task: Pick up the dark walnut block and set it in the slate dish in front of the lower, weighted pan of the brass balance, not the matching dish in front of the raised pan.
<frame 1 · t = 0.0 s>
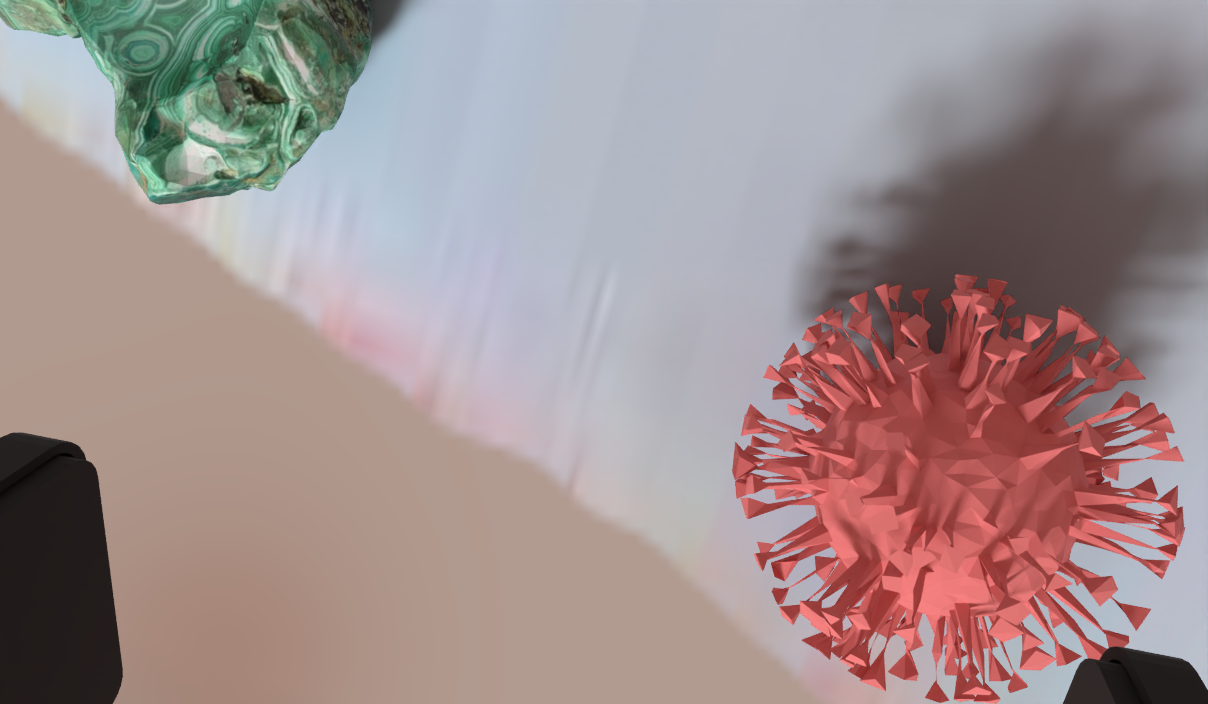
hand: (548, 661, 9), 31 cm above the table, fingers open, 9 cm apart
virus model: (915, 392, 40), on the table
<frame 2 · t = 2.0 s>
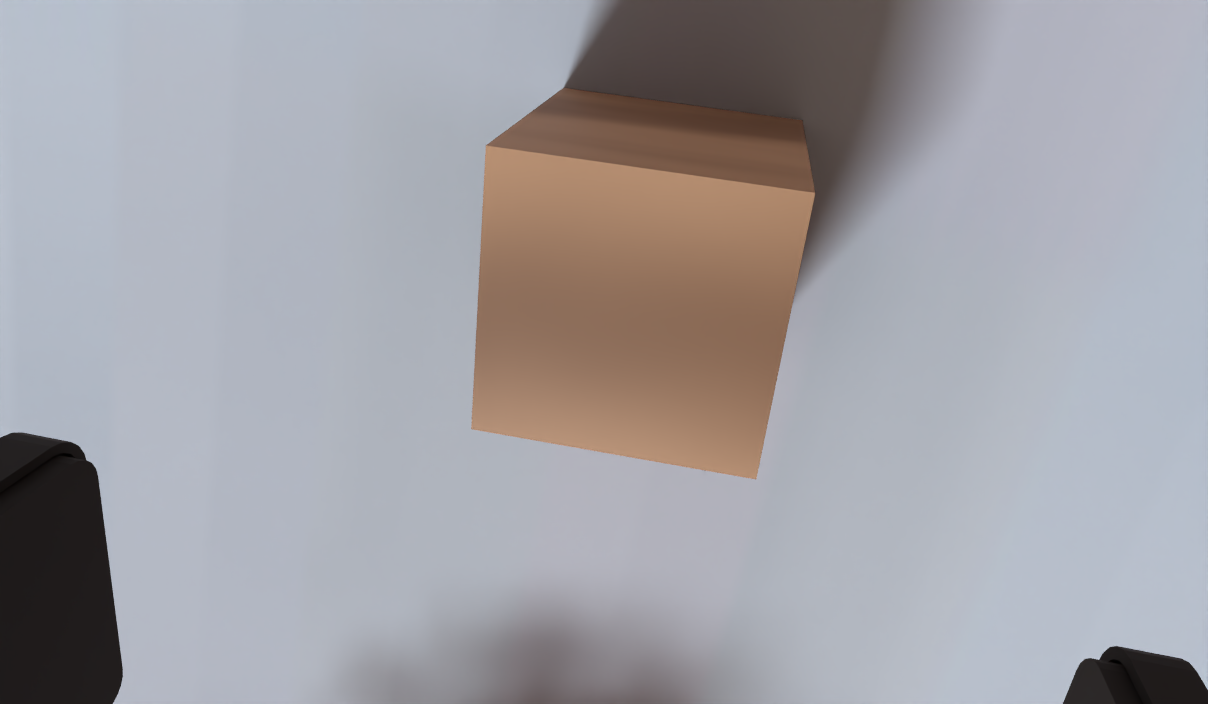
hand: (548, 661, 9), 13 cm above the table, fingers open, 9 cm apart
walnut block: (665, 218, 20), on the table
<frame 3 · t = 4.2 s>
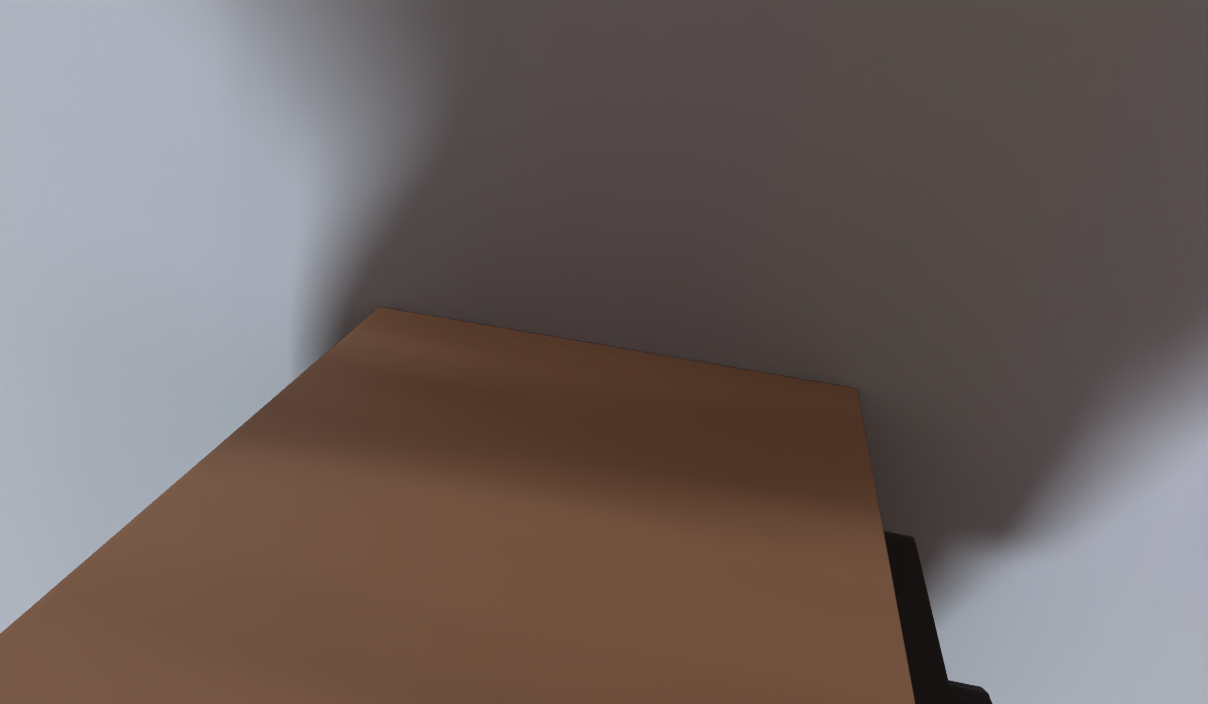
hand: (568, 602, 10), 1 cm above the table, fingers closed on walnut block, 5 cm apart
walnut block: (586, 547, 11), on the table, touching gripper
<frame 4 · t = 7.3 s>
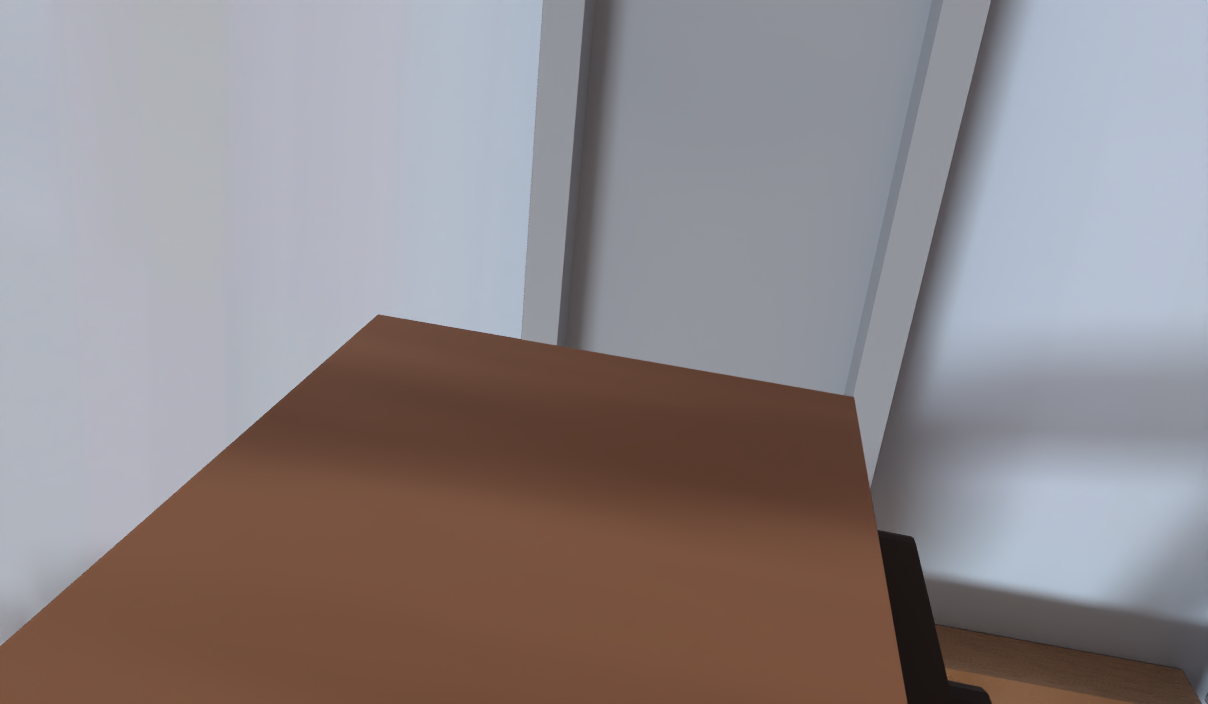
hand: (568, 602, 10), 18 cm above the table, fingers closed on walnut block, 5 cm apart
dish low side: (730, 189, 25), on the table
walnut block: (584, 553, 11), point 17 cm above the table, touching gripper
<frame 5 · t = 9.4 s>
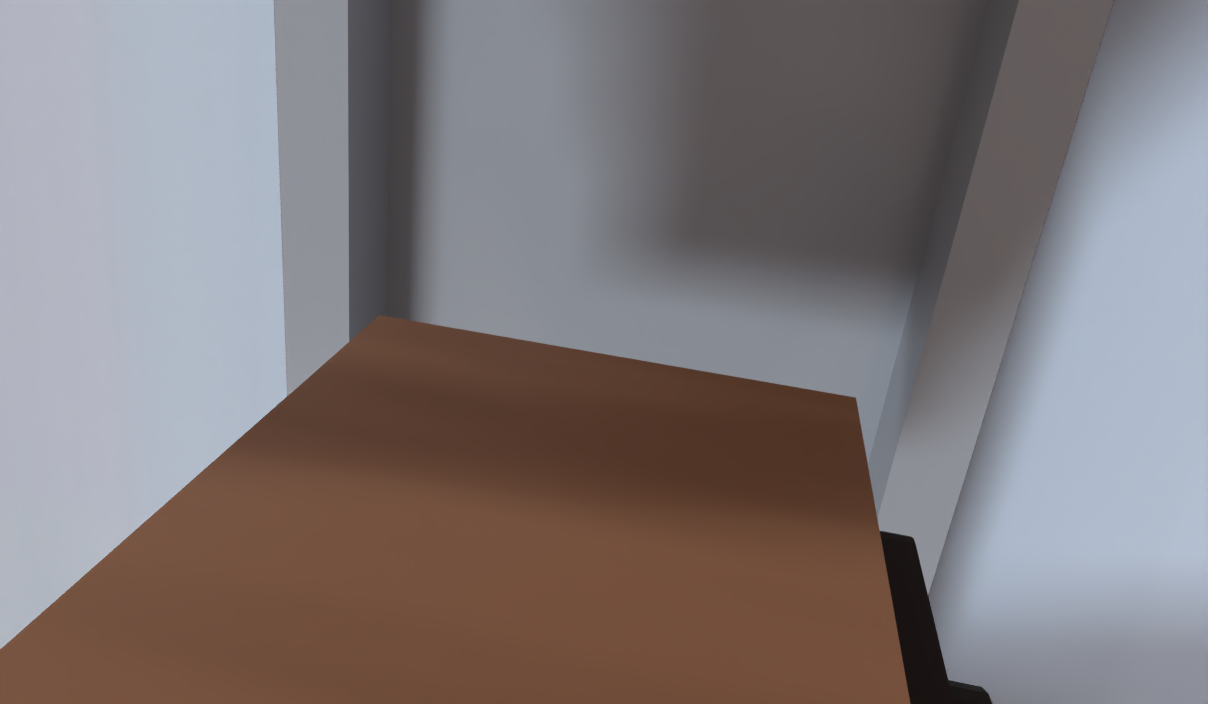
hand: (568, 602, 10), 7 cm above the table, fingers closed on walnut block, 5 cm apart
dish low side: (635, 343, 16), on the table
walnut block: (585, 554, 11), point 6 cm above the table, touching gripper
when the fingers open (3 cm above the table, at t = 10.9 s): walnut block drops 1 cm, resting on dish low side.
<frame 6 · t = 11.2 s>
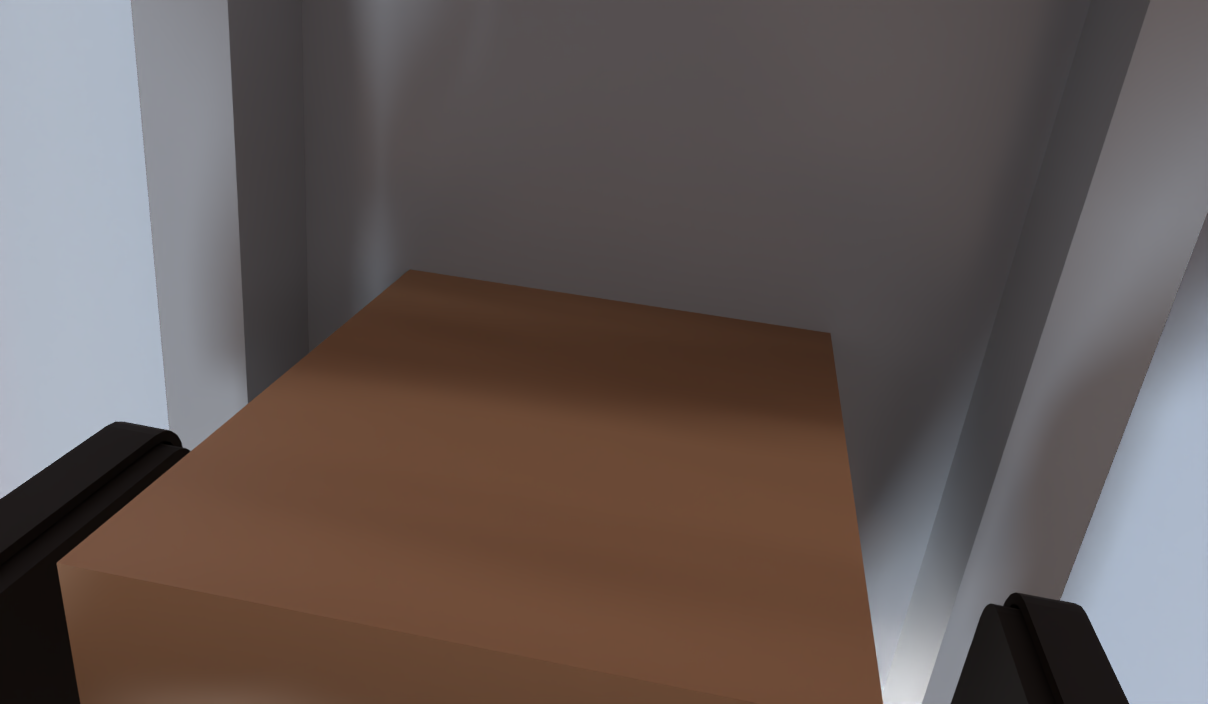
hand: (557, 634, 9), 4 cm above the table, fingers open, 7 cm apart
dish low side: (619, 447, 13), on the table
walnut block: (594, 483, 12), point 1 cm above the table, touching dish low side
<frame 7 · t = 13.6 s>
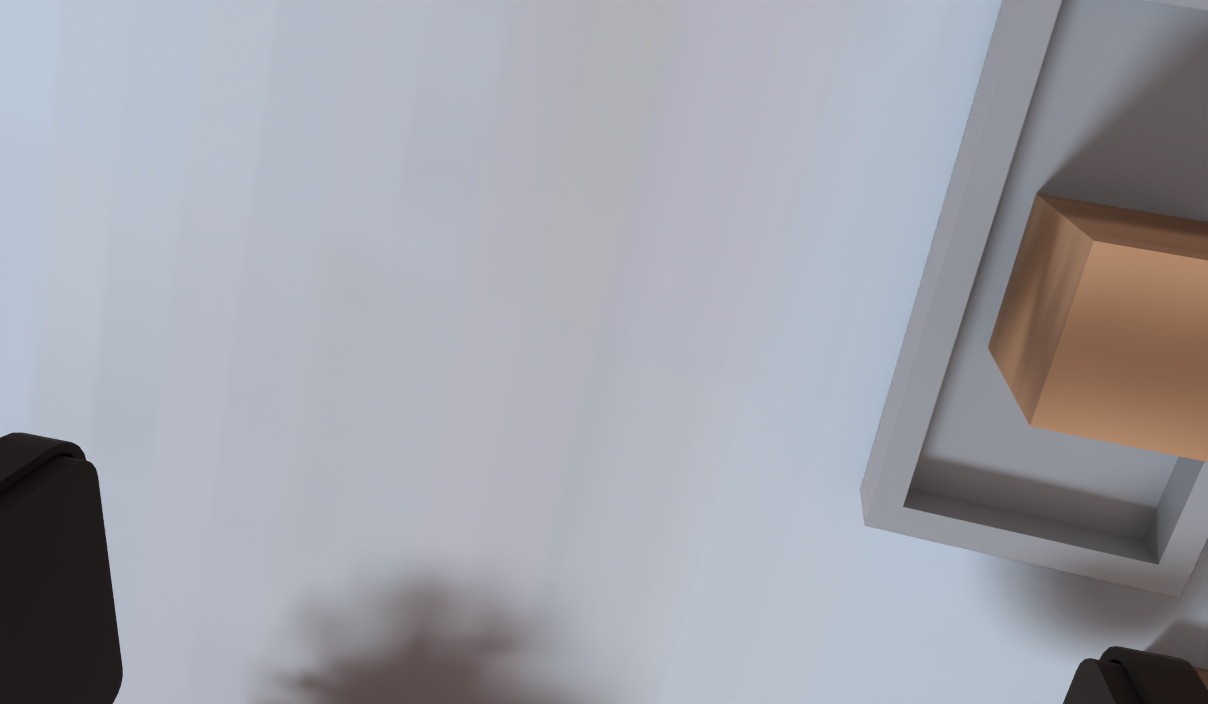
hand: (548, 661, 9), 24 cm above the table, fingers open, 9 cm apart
dish low side: (1091, 279, 29), on the table
walnut block: (1095, 288, 28), point 1 cm above the table, touching dish low side
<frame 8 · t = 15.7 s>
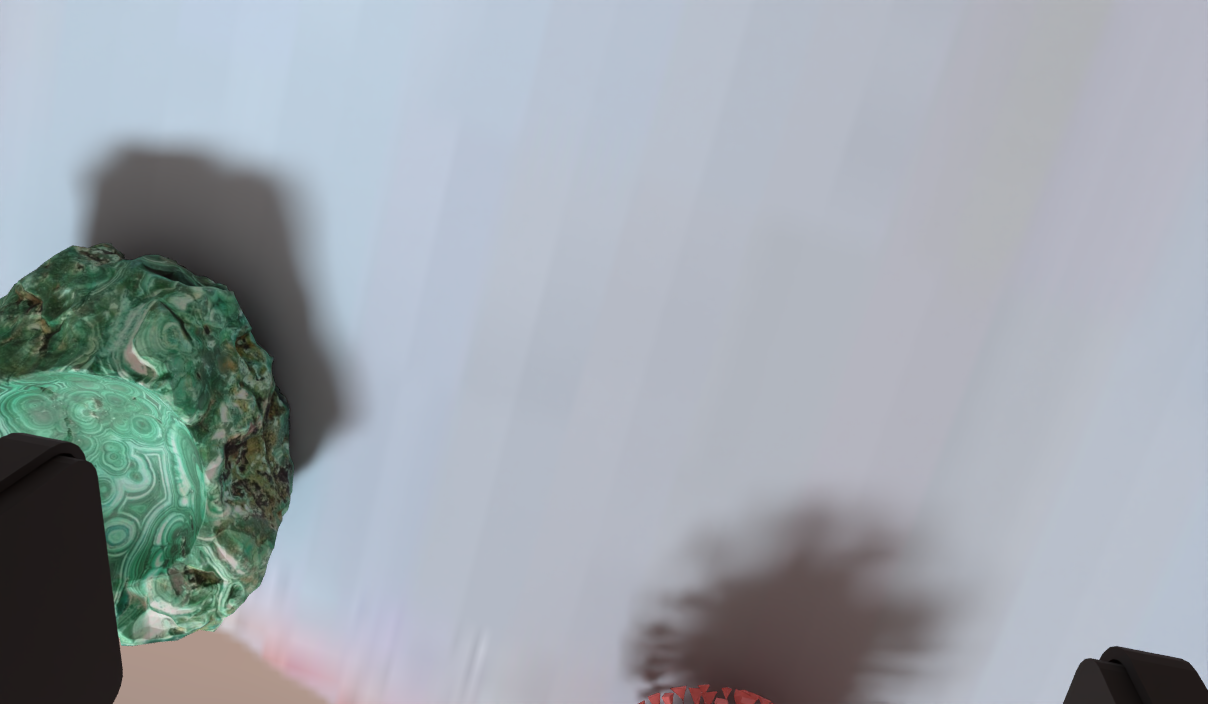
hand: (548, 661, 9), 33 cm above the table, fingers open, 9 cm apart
mineral: (204, 396, 49), on the table
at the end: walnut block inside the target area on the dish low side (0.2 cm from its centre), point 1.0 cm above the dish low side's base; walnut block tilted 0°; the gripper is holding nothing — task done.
